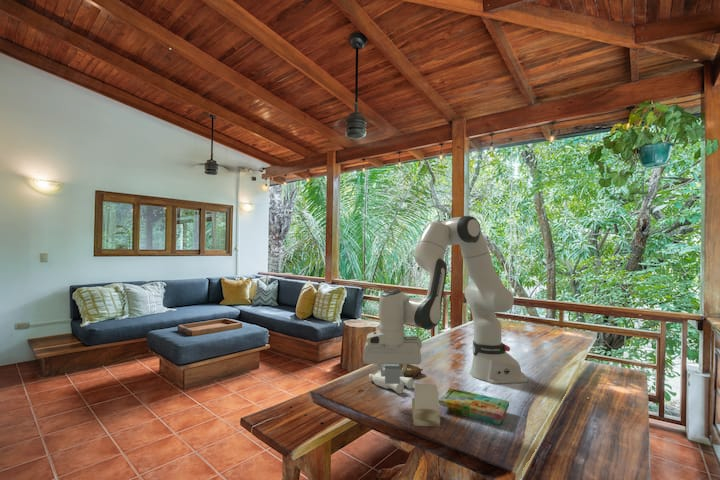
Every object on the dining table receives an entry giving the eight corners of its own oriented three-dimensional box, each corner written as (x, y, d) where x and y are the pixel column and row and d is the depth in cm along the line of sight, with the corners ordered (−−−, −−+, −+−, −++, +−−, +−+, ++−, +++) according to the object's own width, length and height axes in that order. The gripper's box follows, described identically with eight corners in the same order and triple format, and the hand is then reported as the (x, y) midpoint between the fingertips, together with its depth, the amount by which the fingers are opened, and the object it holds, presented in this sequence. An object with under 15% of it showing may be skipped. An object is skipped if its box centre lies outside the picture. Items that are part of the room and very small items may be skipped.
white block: (435, 399, 113) (436, 384, 113) (438, 410, 106) (438, 393, 106) (414, 398, 114) (414, 383, 114) (415, 408, 107) (415, 392, 107)
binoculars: (397, 395, 128) (397, 383, 128) (366, 383, 139) (366, 371, 139) (414, 387, 135) (414, 375, 135) (383, 376, 147) (383, 365, 147)
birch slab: (436, 414, 114) (436, 399, 114) (440, 427, 106) (440, 410, 106) (411, 413, 114) (412, 398, 114) (413, 426, 106) (413, 409, 107)
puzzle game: (502, 413, 105) (438, 397, 116) (502, 428, 105) (438, 411, 116) (509, 399, 115) (450, 385, 126) (509, 413, 115) (450, 398, 126)
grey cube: (399, 378, 123) (398, 364, 123) (399, 383, 118) (399, 369, 118) (385, 378, 124) (384, 363, 124) (385, 383, 119) (385, 369, 119)
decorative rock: (382, 373, 152) (410, 383, 141) (382, 363, 151) (410, 374, 141) (398, 365, 160) (426, 375, 149) (398, 356, 160) (426, 365, 149)
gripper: (420, 334, 124) (421, 372, 124) (363, 333, 125) (363, 372, 125) (422, 339, 117) (423, 379, 117) (362, 338, 119) (363, 379, 119)
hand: (392, 376), depth 121 cm, fingers closed on grey cube, 5 cm apart
